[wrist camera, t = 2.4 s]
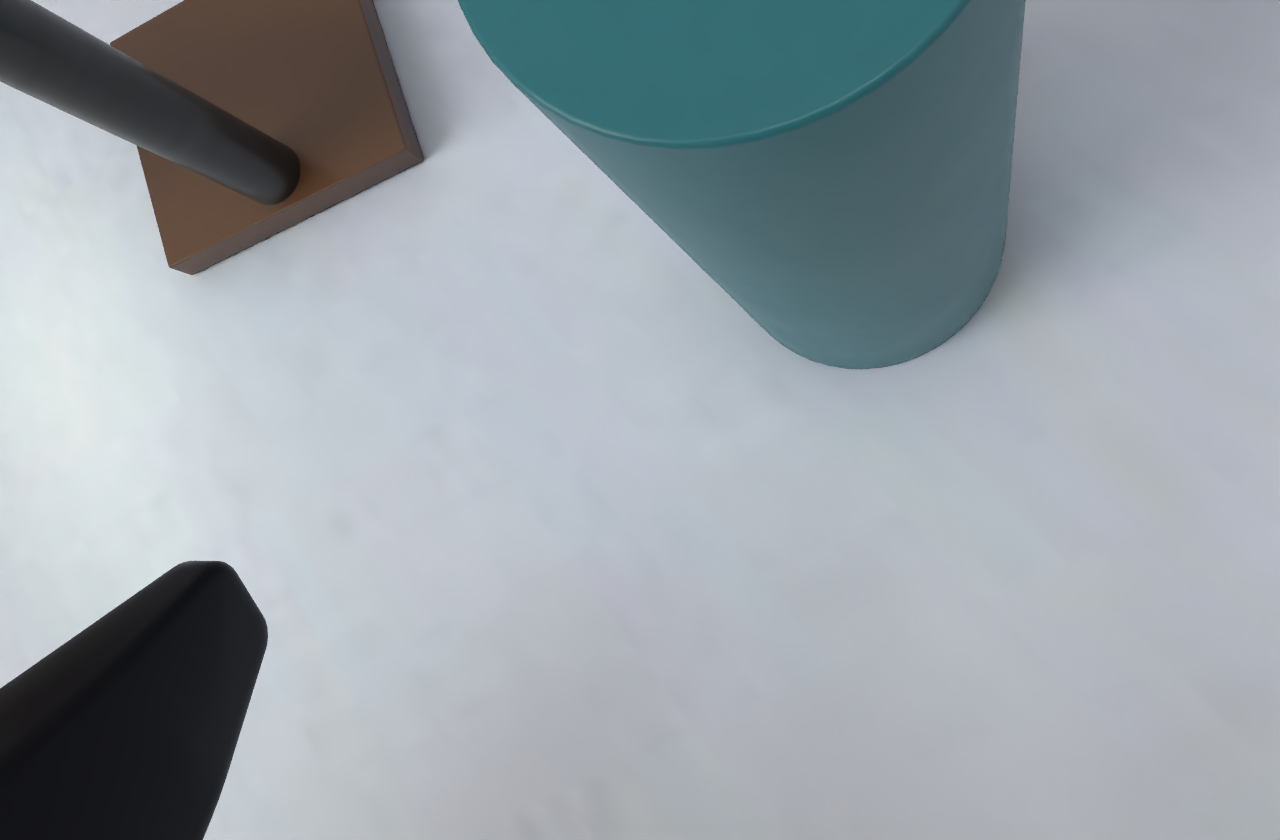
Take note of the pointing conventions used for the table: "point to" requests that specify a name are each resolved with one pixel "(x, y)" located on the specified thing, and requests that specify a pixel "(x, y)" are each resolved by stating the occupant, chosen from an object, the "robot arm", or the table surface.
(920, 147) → the jug
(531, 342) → the table surface
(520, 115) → the table surface
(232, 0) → the peg stand
